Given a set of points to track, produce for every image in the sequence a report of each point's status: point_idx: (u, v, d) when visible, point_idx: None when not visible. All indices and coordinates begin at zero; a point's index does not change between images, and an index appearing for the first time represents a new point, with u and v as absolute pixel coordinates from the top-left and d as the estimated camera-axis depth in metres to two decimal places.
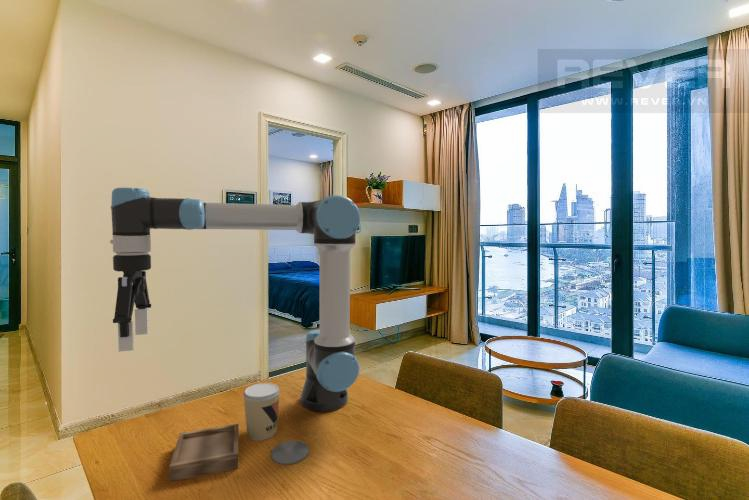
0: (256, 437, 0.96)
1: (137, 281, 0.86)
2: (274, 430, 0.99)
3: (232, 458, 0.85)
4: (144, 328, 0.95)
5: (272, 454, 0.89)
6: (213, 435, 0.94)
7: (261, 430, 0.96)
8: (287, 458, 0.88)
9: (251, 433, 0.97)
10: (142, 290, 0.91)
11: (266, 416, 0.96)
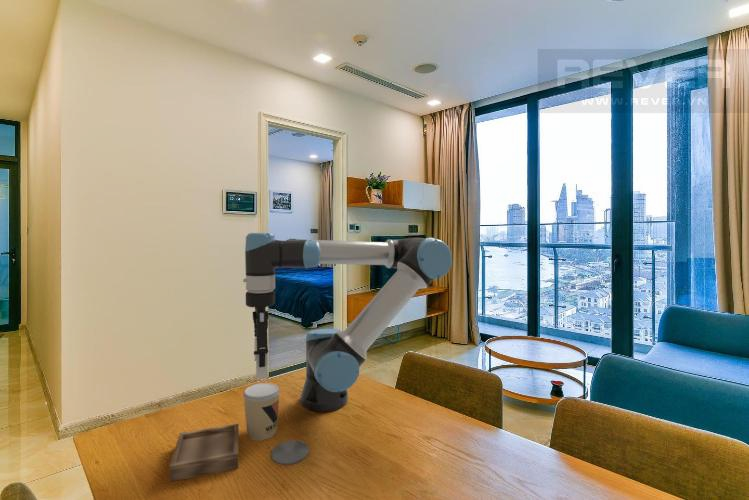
0: (256, 437, 0.96)
1: (266, 315, 0.97)
2: (274, 430, 0.99)
3: (232, 458, 0.85)
4: None
5: (272, 454, 0.89)
6: (213, 435, 0.94)
7: (261, 430, 0.96)
8: (287, 458, 0.88)
9: (251, 433, 0.97)
10: None
11: (266, 416, 0.96)
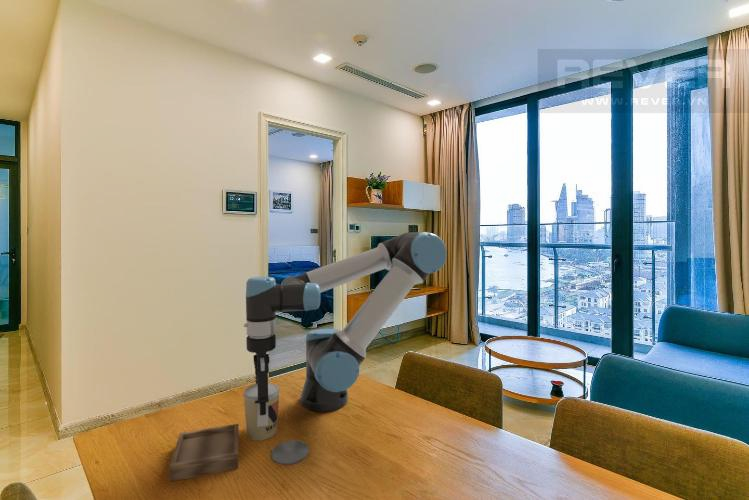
0: (256, 437, 0.96)
1: (267, 360, 0.98)
2: (274, 430, 0.99)
3: (232, 458, 0.85)
4: None
5: (272, 454, 0.89)
6: (213, 435, 0.94)
7: (261, 430, 0.96)
8: (287, 458, 0.88)
9: (250, 433, 0.97)
10: None
11: None
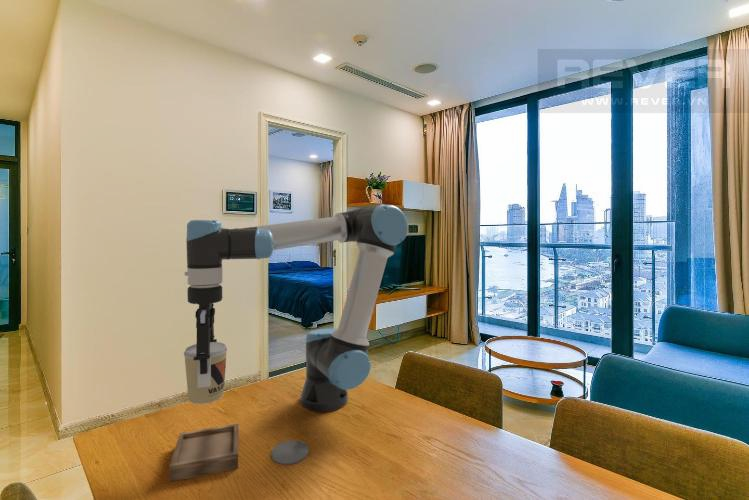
0: (197, 400, 0.85)
1: (211, 313, 0.86)
2: (219, 393, 0.87)
3: (232, 458, 0.85)
4: None
5: (272, 454, 0.89)
6: (213, 435, 0.94)
7: (202, 393, 0.85)
8: (287, 458, 0.88)
9: (191, 395, 0.85)
10: None
11: None
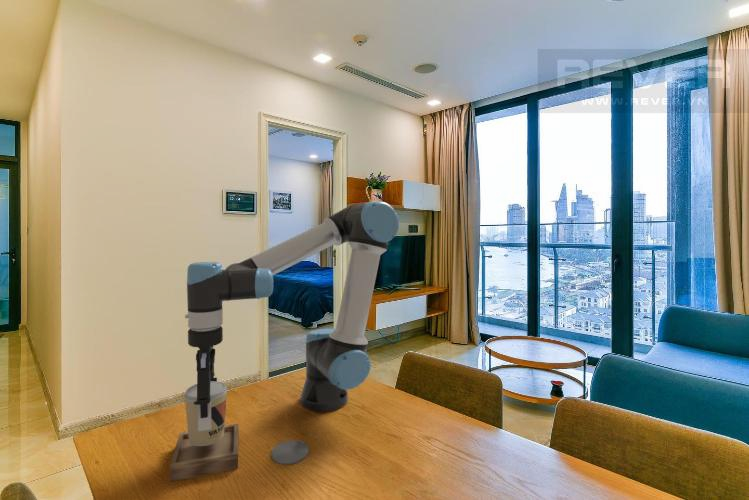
0: (198, 442, 0.85)
1: (211, 356, 0.87)
2: (220, 435, 0.88)
3: (232, 458, 0.85)
4: None
5: (272, 454, 0.89)
6: None
7: (203, 435, 0.85)
8: (287, 458, 0.88)
9: (192, 438, 0.86)
10: None
11: None
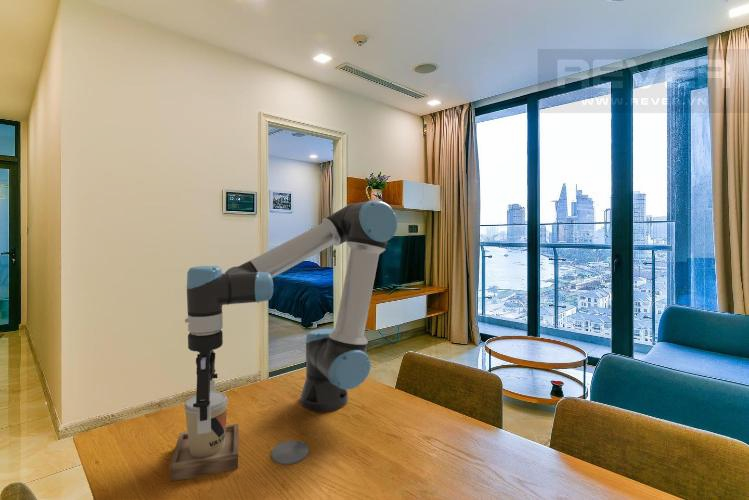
0: (198, 453, 0.85)
1: (211, 359, 0.87)
2: (220, 445, 0.88)
3: (232, 458, 0.85)
4: None
5: (272, 454, 0.89)
6: None
7: (203, 446, 0.85)
8: (287, 458, 0.88)
9: (192, 449, 0.85)
10: (212, 364, 0.91)
11: None
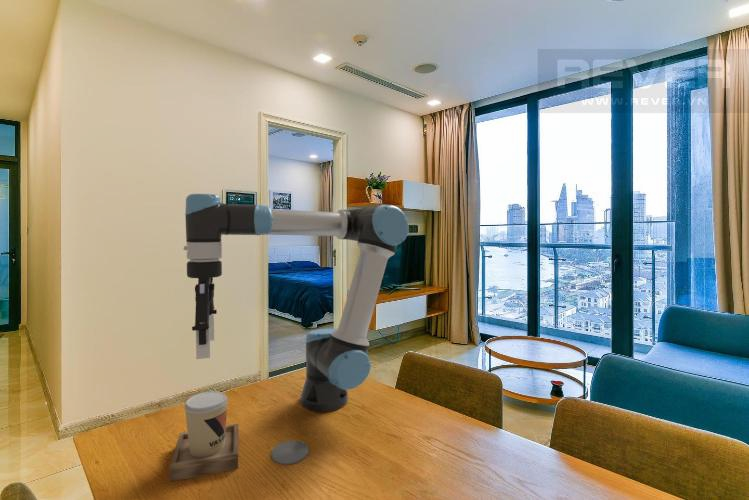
0: (198, 453, 0.85)
1: (210, 287, 0.86)
2: (220, 445, 0.88)
3: (232, 458, 0.85)
4: (211, 334, 0.94)
5: (272, 454, 0.89)
6: None
7: (203, 446, 0.85)
8: (287, 458, 0.88)
9: (192, 449, 0.85)
10: (211, 296, 0.91)
11: (209, 430, 0.85)
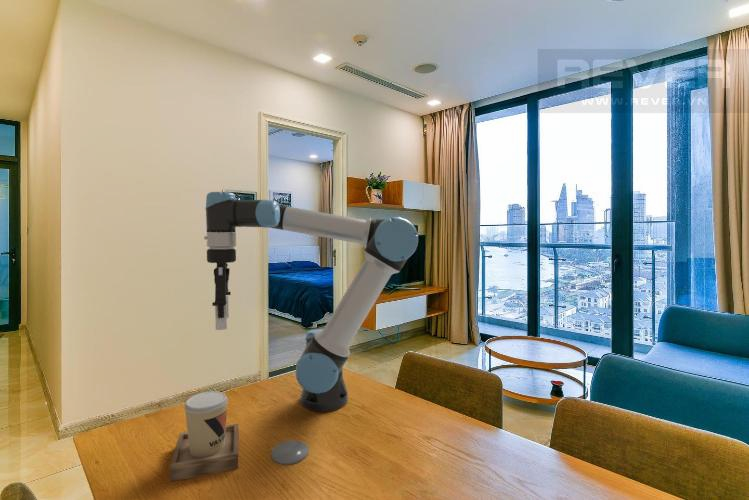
0: (198, 453, 0.85)
1: (227, 271, 1.02)
2: (220, 445, 0.88)
3: (232, 458, 0.85)
4: None
5: (272, 454, 0.89)
6: None
7: (203, 446, 0.85)
8: (287, 458, 0.88)
9: (192, 449, 0.85)
10: None
11: (209, 430, 0.85)
